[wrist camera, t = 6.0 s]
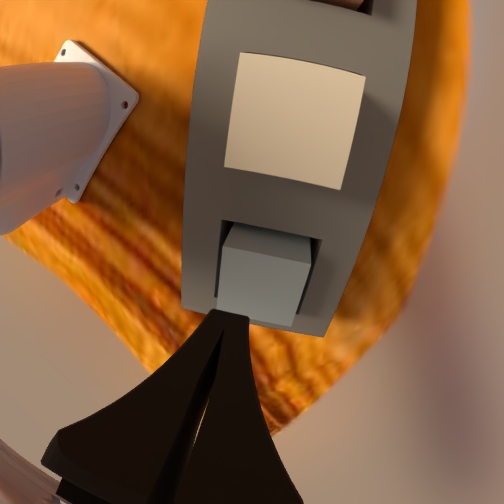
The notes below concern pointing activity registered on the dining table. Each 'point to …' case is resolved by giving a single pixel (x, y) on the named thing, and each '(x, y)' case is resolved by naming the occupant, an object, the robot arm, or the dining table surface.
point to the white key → (293, 119)
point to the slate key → (263, 273)
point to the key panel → (278, 188)
